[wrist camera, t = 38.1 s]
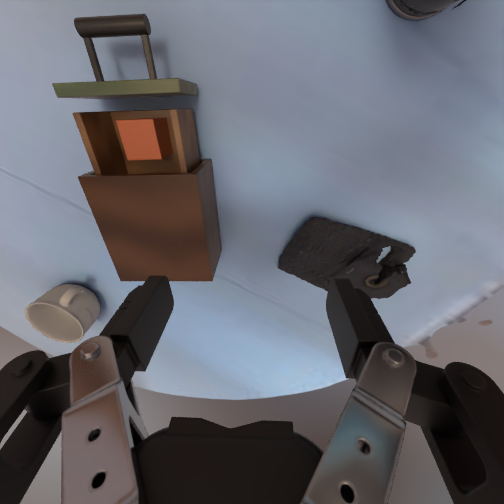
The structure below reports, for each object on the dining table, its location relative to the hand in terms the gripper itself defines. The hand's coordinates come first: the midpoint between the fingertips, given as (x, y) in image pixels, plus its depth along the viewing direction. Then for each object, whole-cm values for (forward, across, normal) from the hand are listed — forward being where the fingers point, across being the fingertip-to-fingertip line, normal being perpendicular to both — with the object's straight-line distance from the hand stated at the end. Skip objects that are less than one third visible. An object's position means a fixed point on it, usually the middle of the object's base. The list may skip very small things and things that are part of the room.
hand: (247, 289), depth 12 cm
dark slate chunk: (+28, -15, +16) cm, 36 cm away
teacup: (+28, +38, +25) cm, 53 cm away
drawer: (+27, +14, -6) cm, 31 cm away
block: (+26, +14, -4) cm, 30 cm away
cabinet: (+28, +14, +7) cm, 32 cm away
